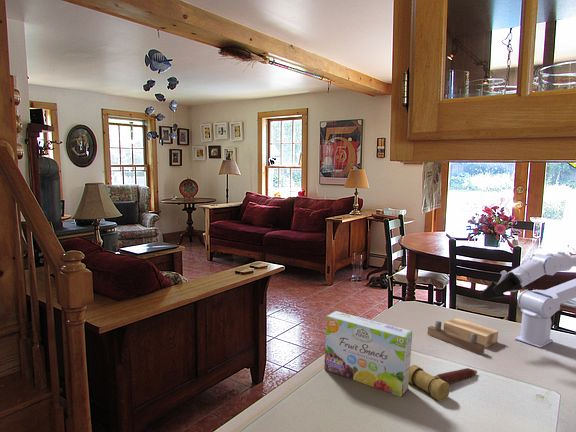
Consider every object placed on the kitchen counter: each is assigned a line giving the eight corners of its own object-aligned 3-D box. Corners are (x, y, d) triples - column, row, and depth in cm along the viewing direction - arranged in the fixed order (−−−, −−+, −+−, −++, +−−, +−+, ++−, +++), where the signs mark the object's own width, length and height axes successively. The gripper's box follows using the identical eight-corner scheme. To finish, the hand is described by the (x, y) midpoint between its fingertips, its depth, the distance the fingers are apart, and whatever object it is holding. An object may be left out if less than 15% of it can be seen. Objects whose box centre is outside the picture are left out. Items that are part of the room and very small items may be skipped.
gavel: (461, 355, 115) (494, 371, 107) (459, 371, 116) (492, 388, 107) (406, 365, 105) (438, 384, 96) (404, 383, 105) (435, 403, 97)
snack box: (322, 370, 110) (325, 315, 108) (333, 363, 114) (335, 309, 113) (401, 398, 98) (406, 336, 96) (409, 388, 102) (413, 329, 101)
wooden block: (456, 328, 144) (457, 317, 144) (497, 343, 133) (498, 331, 133) (443, 333, 140) (444, 322, 139) (484, 349, 129) (485, 336, 128)
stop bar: (431, 333, 139) (432, 318, 138) (484, 353, 125) (485, 337, 124) (427, 334, 137) (428, 319, 137) (480, 354, 123) (482, 338, 123)
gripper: (500, 271, 138) (469, 289, 135) (527, 257, 125) (493, 276, 121) (514, 290, 136) (482, 308, 132) (543, 278, 123) (508, 297, 119)
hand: (488, 294), depth 127 cm, fingers open, 7 cm apart
